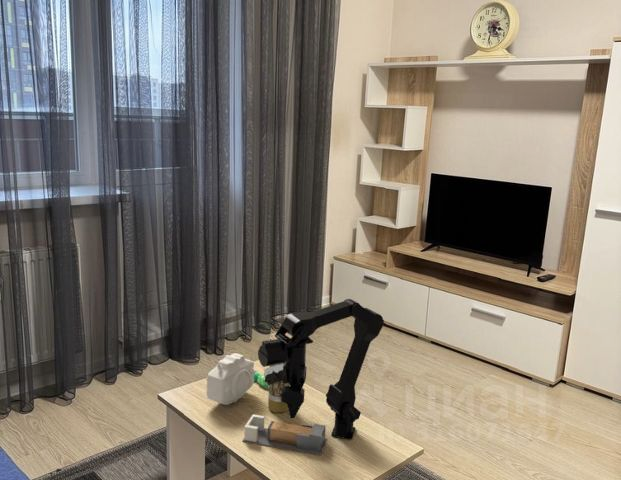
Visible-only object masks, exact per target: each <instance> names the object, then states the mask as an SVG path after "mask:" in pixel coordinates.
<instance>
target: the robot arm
mask: <svg viewBox="0 0 621 480" xmlns="http://www.w3.org/2000/svg"><path fill="white" fill-rule="evenodd" d="M349 317H353V319H354V322H353V331H354V337H353V340H352V344H351V346H350V349H349V352H348V355H347V357H346V359H345V363H344V366H343V368H342V371H341V374H340V377H339V379H338V381H337V382H336V383H334V384H332V383H330V384H329V386H328V391H327V393H326V394H325V397H326V400H325V401H326V405H327V406H328V407H329V409H330V410H331V411H333V412H334V425H333V429H332V432H331V436H332V437H334V438H341V439H346V440H353V438H354V436H355V432H356V427H355V426H354V422H356V420H359V419H360V416H361V414H362V412H361V411H360V410H359V409H358V408H357V407H355V404H356V398H357V397H356V389H355V388H356V387H355V386H356V383H357V381H358V378H359V375H360V373H361V371H362V367H363V364H364V362H365V358H366V356H367V353H368V350H369V348H370V346H371V343H372V342H373V340H375V339H376V338H377V337H378V336H379V335H380V333H381V331H382V329H383V326H384V324H385V321H384V318H383V316H382V315H381V314H380V313H378V312H376V311H373V310H372V309H370V308H368V307H364V306H362V305H361V304H360V303H359V302H357V301H355V300H354V299H351V298H346V299H344V300H343V301H340V302H338V303H334V304H331V305H329V306H325V307H322V308H320V309H317V310H313V311H309V312H308V311H297V312H291V313H289V314H287V315H286V316H285V318H284V320H283V322H282V323H281V325H280V326H279V328H278V329H277V331H276V332H275V333H276V334H275V337H276V338H277V339H275V340H262V342H261V345H260V346H259V348H258V350H257V356H258V361H259V363H260V365H261V366H262V367H266V368H265V370H264V372H263V375H264V377H265V382H267V385H271V384H274V383H277V382H279V381H282V380H283V383H288V384H290V386H285V387H284V388H282V392H281V401H282V402H284V403H286V404H287V406H288V409H287V410H288V413H289V418H290V419H295V418H296V417H297V414H298V413H299V411H300V408H301V406H302V405H303V403H304V402H305V389H304V388H303V387H304V385H305V382H306V378H307V369H308V368H307V365H306V362H307V361H306V358H307V357H306V355H307V352H306V351H307V345H308V344H309V345H310V344H313V343H314V340H313V339H311V338H310V336H312V335H313V334H314V333H315V332H316V331H317V330H318V329H320V328H322V327H325V326H328V325H330V324H334V323H337V322H339V321H341V320H345V319H348V318H349ZM286 333H287V334H290V335H291V336H292V338H289V337H288V336H286V335H285V334H286ZM280 363H284V364H280ZM275 364H279V365H275ZM271 365H275V366H272V367H269V366H271Z"/></svg>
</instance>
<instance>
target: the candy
mask: <svg viewBox="0 0 621 480" xmlns="http://www.w3.org/2000/svg"><path fill="white" fill-rule="evenodd" d="M254 371H255V376H254V383H255V382H257V383H258V385H260V386H261V387H263V388H264V389H269V385H267V382H265V377H264V374H260V373H259V372H258V371H257V370H254Z"/></svg>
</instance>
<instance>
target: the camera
mask: <svg viewBox="0 0 621 480" xmlns="http://www.w3.org/2000/svg"><path fill="white" fill-rule="evenodd" d="M254 366H255V364H254V361H252V360H251V359H248V358H245V357H244V355H242V354H241V353H231V354H230V355H228V354H226V355H224V358H222V359H220V360H219V361H218V362H217V365H216V366H214V368H213V369H211V370H210V371H209V372H208V374H207V377H206V397H207V398H208V399H209V400H211V401H213V402H216V403H219V404H222V405H224V406H229V405H231V404H232V403H237V402H238V400H239V399H240V398H242V397H243V396H244V395H245V394H246V393H247V391H249V390H250V388H252V386H253V385H254V383H255V381H254V376H255V371H256V370H255V369H254V368H255V367H254Z"/></svg>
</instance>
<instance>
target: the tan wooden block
mask: <svg viewBox="0 0 621 480" xmlns="http://www.w3.org/2000/svg"><path fill="white" fill-rule="evenodd" d="M267 429H268V431H267V440H272V441H277V442H283V443H289V444H294V445H297V434H304V435H309V434H310V431H311V429H312V428H309V427H303V426H302V425H297V424H289V423H284V422H280V421H279V422H278V421H273V420H271V422H269V425H268V427H267Z"/></svg>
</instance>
